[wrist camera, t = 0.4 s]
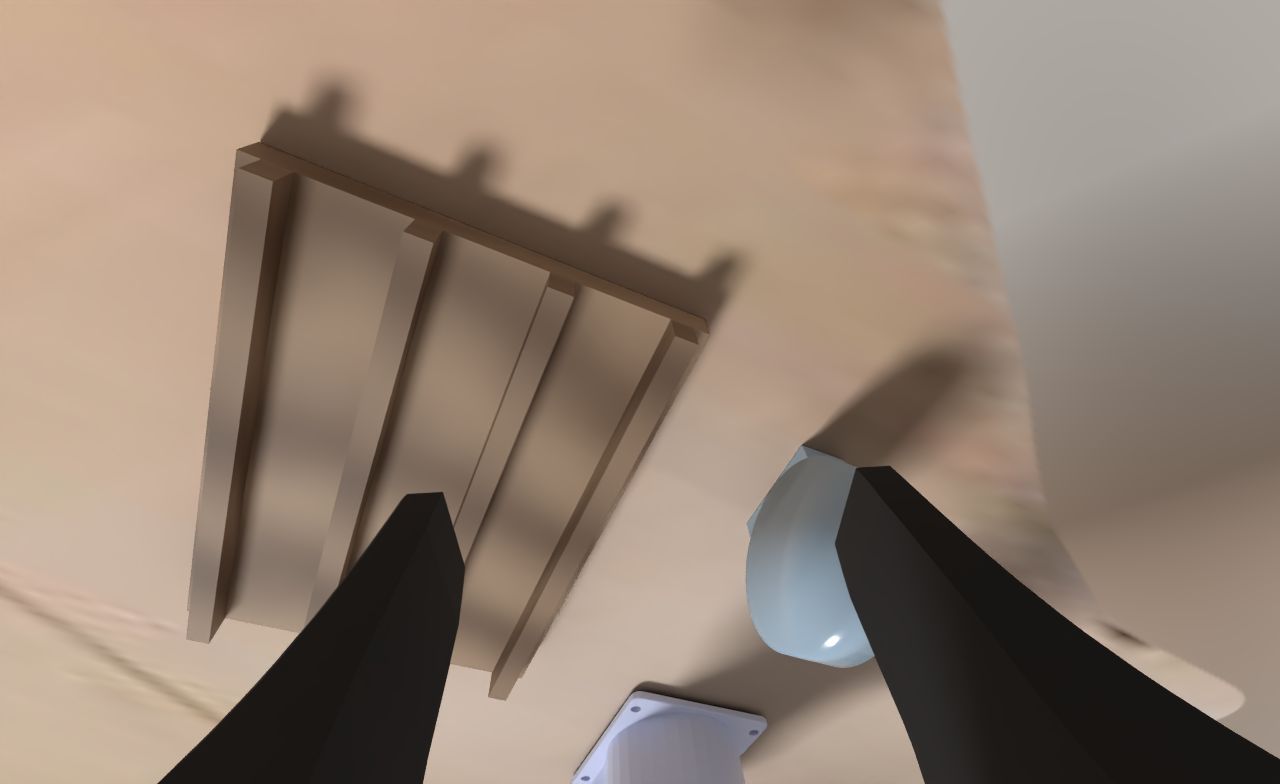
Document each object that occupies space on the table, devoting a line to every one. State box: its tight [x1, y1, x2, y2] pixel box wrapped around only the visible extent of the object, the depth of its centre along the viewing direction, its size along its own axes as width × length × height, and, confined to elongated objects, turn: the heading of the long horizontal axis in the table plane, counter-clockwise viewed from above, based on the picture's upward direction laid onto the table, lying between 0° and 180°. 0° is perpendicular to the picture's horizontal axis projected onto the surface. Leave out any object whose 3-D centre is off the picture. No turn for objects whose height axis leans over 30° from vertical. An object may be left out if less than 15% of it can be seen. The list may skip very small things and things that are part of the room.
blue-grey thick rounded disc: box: [746, 446, 875, 668], centre depth 22 cm, size 7×2×7 cm, turn 156°
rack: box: [186, 142, 710, 701], centre depth 22 cm, size 19×14×2 cm
